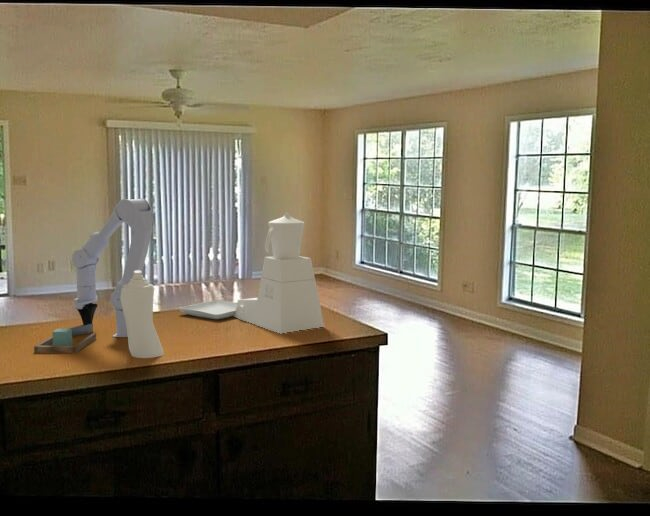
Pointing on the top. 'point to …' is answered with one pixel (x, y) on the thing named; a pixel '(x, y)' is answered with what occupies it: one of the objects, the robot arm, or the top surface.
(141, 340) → the white bottle
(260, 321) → the blender
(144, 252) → the robot arm
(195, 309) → the salad plate
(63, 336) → the teal block
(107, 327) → the top surface
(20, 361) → the top surface
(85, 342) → the bay
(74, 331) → the gate
